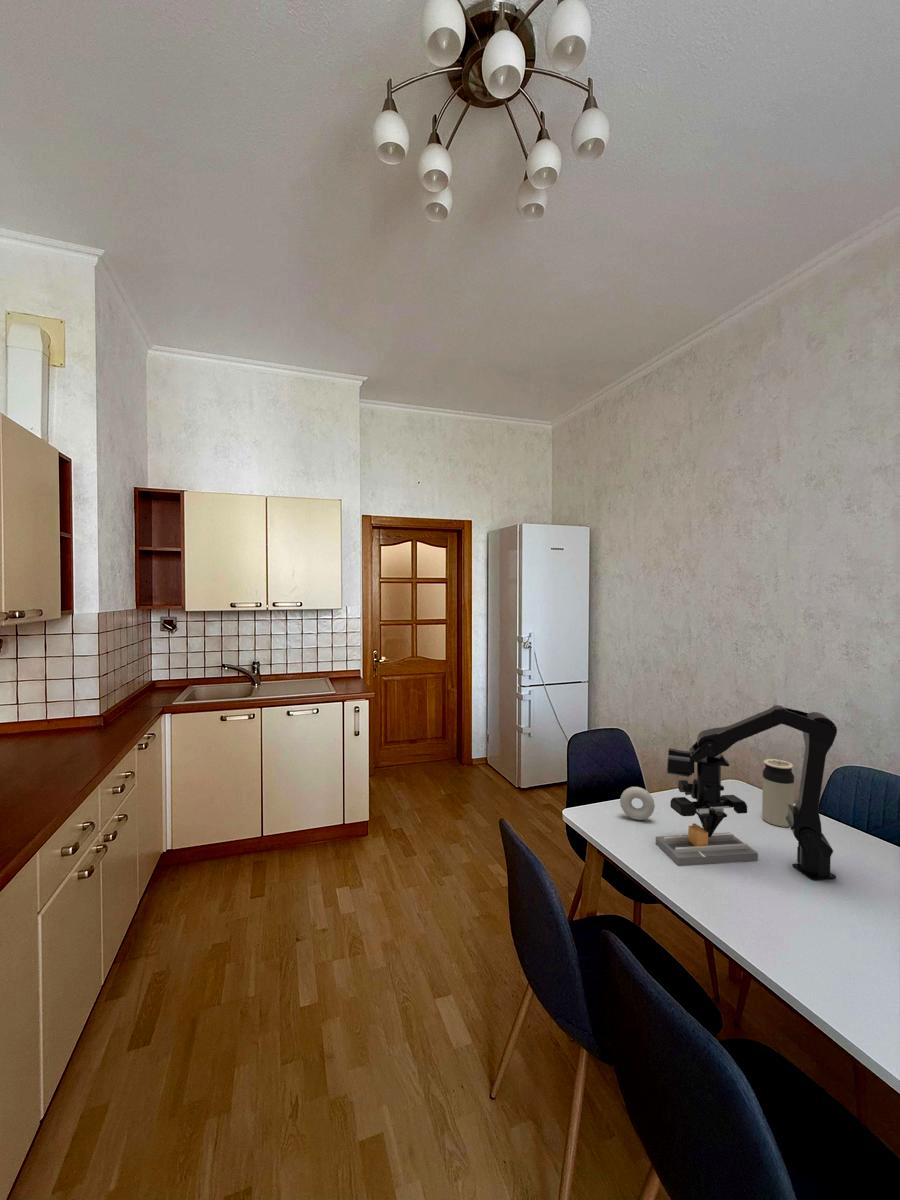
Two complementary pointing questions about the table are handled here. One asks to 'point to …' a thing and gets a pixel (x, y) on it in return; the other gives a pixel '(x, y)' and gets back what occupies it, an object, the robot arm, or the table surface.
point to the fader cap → (697, 835)
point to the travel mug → (777, 791)
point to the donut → (632, 811)
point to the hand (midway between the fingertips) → (708, 836)
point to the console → (706, 849)
